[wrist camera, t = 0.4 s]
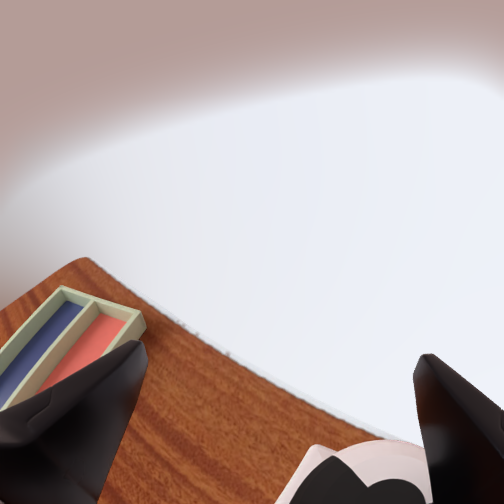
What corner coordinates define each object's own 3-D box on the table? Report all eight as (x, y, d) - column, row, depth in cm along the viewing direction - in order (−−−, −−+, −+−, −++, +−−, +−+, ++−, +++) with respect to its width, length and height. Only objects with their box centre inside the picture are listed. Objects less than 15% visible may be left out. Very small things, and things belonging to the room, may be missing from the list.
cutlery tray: (44, 481, 15) (27, 472, 13) (-26, 411, 18) (-39, 398, 17) (147, 327, 31) (141, 310, 29) (68, 300, 34) (61, 284, 33)
